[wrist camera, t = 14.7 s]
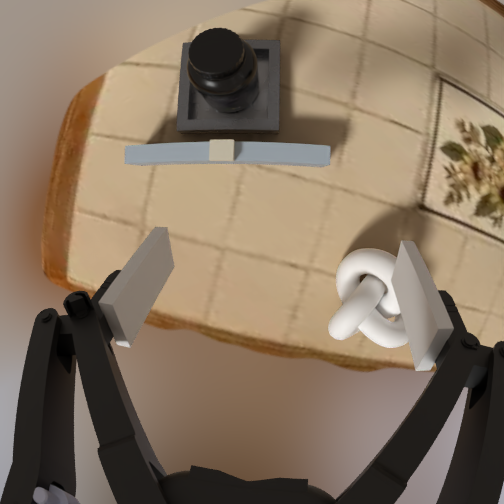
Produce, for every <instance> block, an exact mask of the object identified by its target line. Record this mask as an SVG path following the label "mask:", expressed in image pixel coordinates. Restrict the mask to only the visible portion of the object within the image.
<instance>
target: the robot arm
mask: <svg viewBox="0 0 504 504" xmlns="http://www.w3.org/2000/svg"><path fill="white" fill-rule="evenodd" d="M173 268H174V261H173V256H172V251H171V246H170V240H169V234H168V229H167V227H155V228H154V229H153V230H152V232H151V233H150V234H149V235H148V237H147V238H146V239H145V240H144V242H143V243H142V244H141V246H140V247H139V248H138V249H137V251H136V252H135V253H134V255H133V256H132V257H131V258H130V260H129V261H128V262H127V264H126V265H125V266H124V268H123V269H122V270H116V271H114V272H113V273H111V274H110V275H109V276H108V277H107V279H106V280H105V281H104V283H103V284H102V285H101V286H100V288H99V289H98V290H97V292H96V293H95V295H94V296H93V297H92V299H91V300H90V297H89V295H88V293H87V292H85V291H76V292H73V293H71V294H70V295H68V296H67V297H66V299H65V300H64V303H63V305H64V307H65V309H66V311H67V313H68V315H62V316H59V315H58V313H57V311H56V310H55V309H53V308H48V309H45V310H43V311H41V312H40V313H39V314H38V315H37V317H36V319H35V322H34V326H33V330H32V334H31V338H30V342H29V346H28V351H27V355H26V360H25V365H24V370H23V375H22V380H21V386H20V393H19V399H18V407H17V414H16V423H15V433H14V446H13V463H12V466H11V469H10V472H9V475H8V478H7V481H6V484H5V487H4V491H3V494H2V498H1V501H0V504H80V503H79V501H78V500H77V499H76V498H75V494H76V472H75V454H74V391H75V373H76V360H77V362H78V367H79V371H80V376H81V380H82V385H83V389H84V393H85V397H86V401H87V404H88V408H89V411H90V415H91V419H92V422H93V425H94V428H95V432H96V435H97V438H98V441H99V444H100V447H99V448H98V455H99V458H100V461H101V464H102V467H103V470H104V472H105V475H106V477H107V480H108V482H109V485H110V487H111V490H112V492H113V495H114V497H115V499H116V501H117V504H394V503H395V502H396V501H397V499H398V498H399V497H400V495H401V494H402V493H403V491H404V490H405V488H406V486H407V482H408V480H409V479H410V477H411V476H412V474H413V473H414V471H415V470H416V469H417V467H418V466H419V464H420V463H421V461H422V460H423V458H424V457H425V455H426V454H427V452H428V451H429V449H430V447H431V446H432V444H433V443H434V441H435V439H436V438H437V436H438V434H439V433H440V431H441V429H442V428H443V426H444V424H445V422H446V421H447V419H448V417H449V415H450V413H451V411H452V410H453V408H454V406H455V404H456V402H457V400H458V398H459V396H460V394H461V392H462V390H463V388H464V387H468V394H467V399H466V404H465V409H464V414H463V419H462V423H461V427H460V431H459V435H458V439H457V443H456V447H455V450H454V454H453V457H452V460H451V464H450V467H449V470H448V473H447V476H446V479H445V482H444V485H443V487H442V490H441V493H440V495H439V498H438V501H437V503H436V504H498V501H499V498H500V494H501V490H502V486H503V482H504V341H500V342H497V343H496V344H495V346H494V347H493V348H491V347H487V346H483V345H480V342H479V340H478V339H477V337H475V336H474V335H473V334H471V333H468V332H467V330H466V328H465V325H464V323H463V321H462V318H461V316H460V314H459V312H458V309H457V307H456V306H455V303H454V301H453V299H452V297H451V296H450V295H449V294H448V293H447V292H446V291H444V290H437V288H436V285H435V283H434V281H433V279H432V277H431V275H430V273H429V271H428V269H427V266H426V264H425V262H424V260H423V258H422V256H421V254H420V253H419V251H418V249H417V247H416V245H415V243H414V241H404V240H401V244H400V248H399V252H398V256H397V260H396V263H395V267H394V271H393V274H392V278H391V282H392V286H393V289H394V292H395V295H396V298H397V302H398V305H399V308H400V312H401V315H402V319H403V322H404V326H405V330H406V333H407V337H408V341H409V345H410V349H411V353H412V357H413V361H414V365H415V370H416V371H424V370H431V368H432V366H433V365H434V363H436V367H437V370H436V372H435V373H434V375H433V376H432V378H431V380H430V381H429V383H428V385H427V386H426V388H425V389H424V391H423V393H422V394H421V396H420V397H419V399H418V400H417V402H416V403H415V405H414V406H413V408H412V409H411V411H410V412H409V413H408V415H407V416H406V418H405V419H404V421H403V422H402V423H401V425H400V426H399V427H398V429H397V430H396V431H395V433H394V434H393V435H392V437H391V438H390V439H389V440H388V442H387V443H386V444H385V445H384V447H383V448H382V449H381V450H380V452H379V453H378V454H377V455H376V457H375V458H374V459H373V460H372V461H371V462H370V464H369V465H368V466H367V467H366V468H365V469H364V470H363V472H362V473H361V474H360V475H359V476H358V477H357V478H356V479H355V481H354V482H352V484H351V485H350V486H349V487H348V488H347V489H346V490H345V491H344V492H343V493H342V494H341V495H340V496H339V497H338V498H337V499H336V500H335V499H334V498H333V497H332V496H331V495H329V494H328V493H326V492H325V491H323V490H321V489H319V488H317V487H314V486H311V485H308V479H290V478H274V479H267V480H259V481H245V480H242V479H239V478H237V477H234V476H232V475H229V474H226V473H224V472H221V471H219V470H213V469H207V468H203V467H197V466H191V469H190V471H181V472H176V473H173V474H170V475H167V474H166V472H165V471H164V469H163V467H162V466H161V464H160V463H159V461H158V459H157V457H156V455H155V453H154V451H153V449H152V447H151V445H150V443H149V441H148V438H147V436H146V434H145V432H144V430H143V428H142V425H141V423H140V420H139V418H138V416H137V413H136V411H135V409H134V406H133V404H132V401H131V399H130V396H129V394H128V391H127V388H126V386H125V383H124V380H123V378H122V375H121V372H120V369H119V367H118V363H117V361H116V358H115V355H114V352H113V348H112V346H111V344H110V341H111V340H112V338H113V337H114V339H115V341H116V343H117V345H121V346H125V347H131V345H132V343H133V342H134V340H135V338H136V336H137V334H138V332H139V330H140V328H141V326H142V325H143V323H144V321H145V319H146V317H147V315H148V313H149V311H150V310H151V308H152V306H153V304H154V302H155V300H156V299H157V297H158V295H159V293H160V291H161V290H162V288H163V286H164V284H165V282H166V281H167V279H168V277H169V275H170V274H171V272H172V270H173Z"/></svg>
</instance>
